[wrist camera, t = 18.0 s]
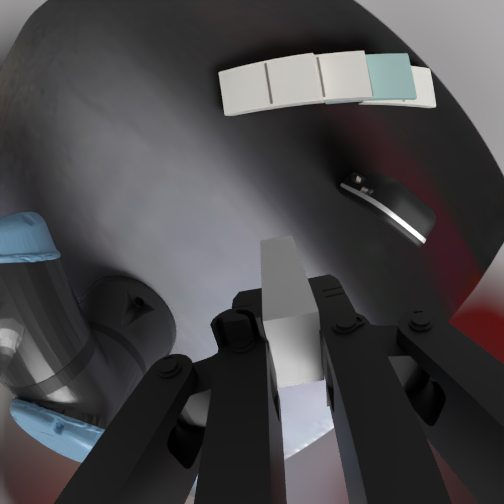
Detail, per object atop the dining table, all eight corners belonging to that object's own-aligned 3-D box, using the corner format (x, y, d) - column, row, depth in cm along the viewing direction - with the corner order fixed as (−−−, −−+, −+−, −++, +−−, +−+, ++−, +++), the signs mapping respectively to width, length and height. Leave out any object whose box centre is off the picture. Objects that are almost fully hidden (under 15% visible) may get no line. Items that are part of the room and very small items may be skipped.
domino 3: (324, 102, 26) (417, 97, 22) (316, 59, 24) (407, 53, 20) (327, 104, 28) (414, 100, 23) (319, 63, 26) (406, 58, 22)
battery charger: (395, 194, 31) (448, 219, 20) (379, 220, 32) (426, 254, 22) (351, 162, 30) (396, 172, 19) (334, 189, 31) (371, 212, 21)
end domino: (363, 102, 26) (436, 106, 25) (356, 60, 24) (429, 68, 23) (357, 104, 28) (428, 108, 27) (351, 64, 26) (422, 71, 25)
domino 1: (224, 115, 27) (321, 100, 23) (218, 72, 25) (312, 52, 21) (232, 115, 29) (324, 102, 25) (226, 74, 27) (316, 57, 23)
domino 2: (275, 105, 27) (372, 96, 22) (268, 62, 25) (364, 50, 20) (281, 107, 28) (372, 99, 24) (274, 66, 26) (364, 55, 22)
